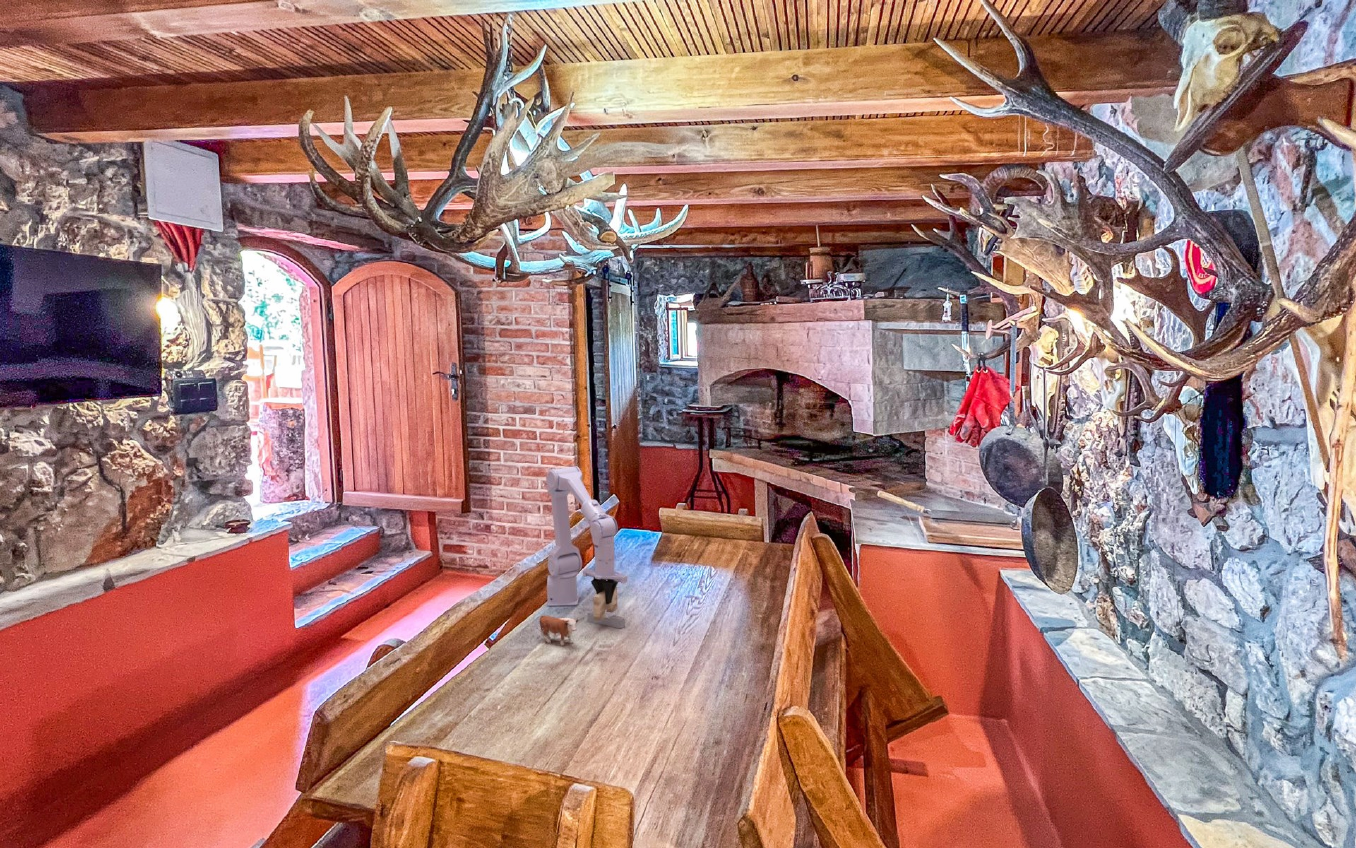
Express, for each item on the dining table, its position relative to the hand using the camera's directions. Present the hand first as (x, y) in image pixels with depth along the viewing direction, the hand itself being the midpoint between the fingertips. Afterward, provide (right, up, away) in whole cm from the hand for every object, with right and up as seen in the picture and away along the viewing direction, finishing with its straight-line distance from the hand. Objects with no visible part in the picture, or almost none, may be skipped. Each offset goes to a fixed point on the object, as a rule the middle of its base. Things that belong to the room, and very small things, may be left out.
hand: (605, 602), depth 224 cm
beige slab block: (0, -4, 0) cm, 4 cm away
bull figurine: (-12, -9, -12) cm, 19 cm away
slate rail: (0, -7, +1) cm, 7 cm away
